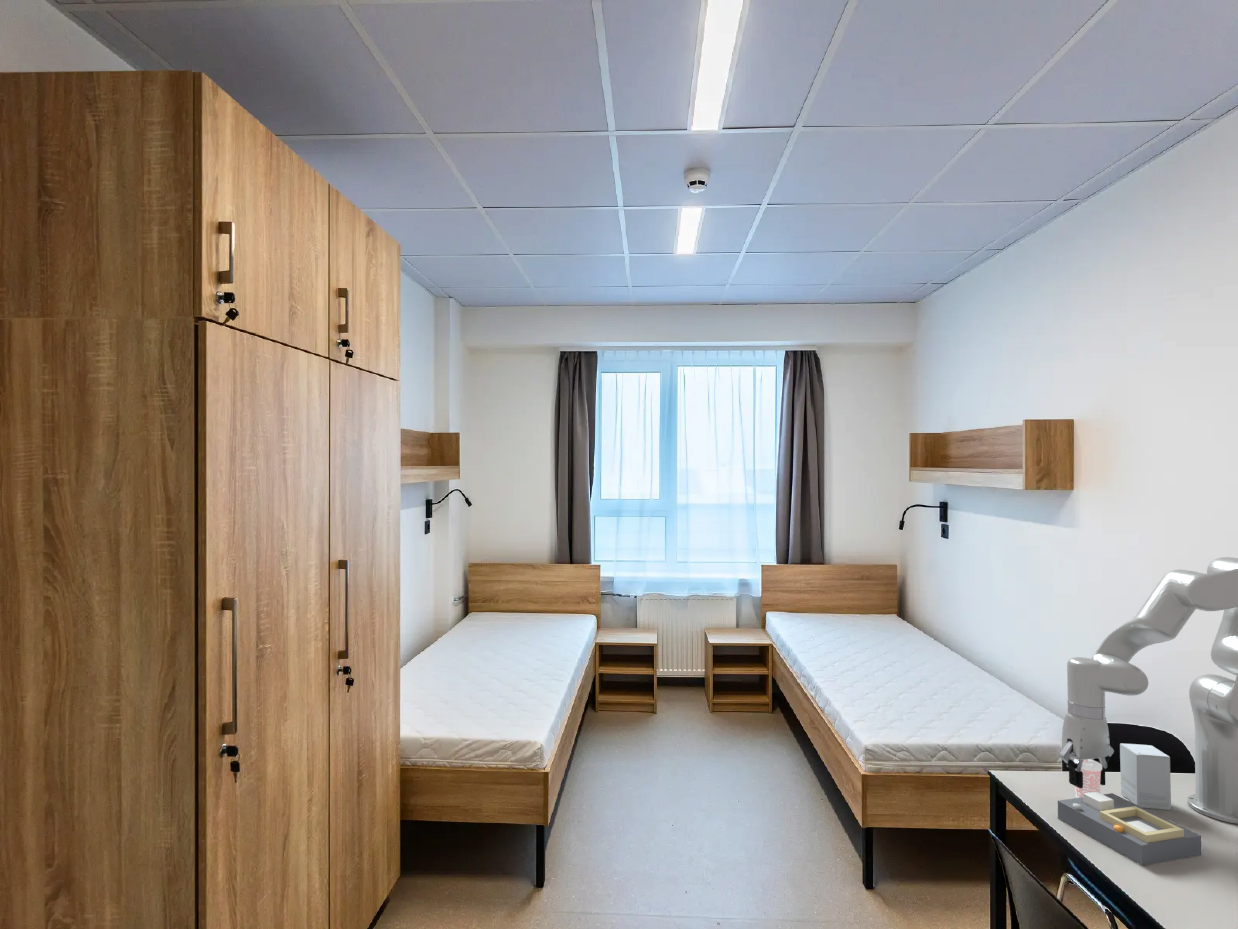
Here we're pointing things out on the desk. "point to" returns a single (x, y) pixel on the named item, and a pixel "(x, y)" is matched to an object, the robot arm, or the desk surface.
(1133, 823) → the block
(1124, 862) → the desk surface
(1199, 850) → the gray panel board
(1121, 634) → the robot arm
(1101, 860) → the desk surface
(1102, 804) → the block
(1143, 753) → the supplement box
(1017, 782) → the desk surface
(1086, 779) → the beverage cup
